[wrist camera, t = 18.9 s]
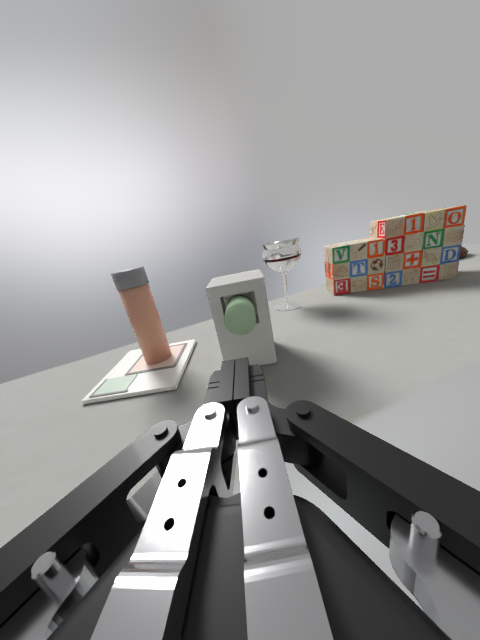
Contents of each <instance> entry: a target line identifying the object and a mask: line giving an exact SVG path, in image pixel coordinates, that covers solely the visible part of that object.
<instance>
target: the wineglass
mask: <svg viewBox="0 0 480 640" xmlns="http://www.w3.org/2000/svg"><path fill="white" fill-rule="evenodd" d="M298 241H299V238H296V239H295V238H294V239H288V240H282V241H277V242H272V243H268V244H264V245H262V247H263V249H264V252H263V261H264V262H265V264H266V265H267V266H268V267H269V268H270V269H272V270H275V271H278V272H279V273H280V274H282V278H283V284H284V290H285V296H286V302H285V303H282V304H279V305H277V306H276V307H275V309H276V310H280V311H288V310H293V309H296V308H299V307H300V306H301V304H300V303H298V302H288V291H287V279H286V273H288V270H289V269H291V268H292V267H294V266H295V265H296V263H297V262H298V260H299V259H300V255H301V250H300V247H299V246H298V244H297V243H298Z"/></svg>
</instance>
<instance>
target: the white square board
mask: <svg viewBox="0 0 480 640" xmlns="http://www.w3.org/2000/svg"><path fill="white" fill-rule="evenodd" d="M195 344H196V339H194V340H188V341H182V342H177V343H171V344H169V347H170V350H171V353H172V355H171V356H170V357H169V358H168V359H167V360H165V361H163V362H161V363H158V364H152V365H149V364H147V363H146V362H145V359H144V356H143V354H142V351H141V349H137V350H131V351H129V352H128V353H127V354H126V355H125V356H124V357H123V358H122V360H121V361H120V362H119V363H118V364H117V365H116V366H115V367H114V368H113V369H112V370H111V371H110V372H109V373H108V374H107V375H106V376H105V377H104V378H103V379H102V380H101V381H100V382H99V383H98V384H97V385H96V386H95V387H94V388H93V389H92V390H91V391H90V393H89V394H88V395H87V396H86V397H85V398H84V399H83V400H82V403H83V404H89V403H95V402H101V401H107V400H114V399H120V398H126V397H132V396H138V395H144V394H151V393H157V392H163V391H169V390H175V389H177V387H178V384H179V382H180V380H181V377H182V375H183V373H184V370H185V368H186V365H187V363H188V361H189V358H190V356H191V354H192V351H193V349H194V347H195Z"/></svg>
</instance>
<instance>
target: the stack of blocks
mask: <svg viewBox="0 0 480 640" xmlns="http://www.w3.org/2000/svg"><path fill="white" fill-rule="evenodd" d="M465 213H466V205H464V206H456V207H449V208H442V209H436V210H427V211H420V212H414V213H409V214H405V215H402V216H397V217H392V218H387V219H381V220H376V221H371V233H370V238H366V239H361V240H354V241H349V242H344V243H338V244H332V245H327V246H324V254H325V273H326V287H327V289H328V290H329V291H330V292H331V293H332V294H333V295H339V294H346V293H355V292H362V291H368V290H376V289H383V288H389V287H396V286H403V285H409V284H416V283H424V282H431V281H438V280H445V279H452V278H457V272H458V265H459V257H460V250H461V244H462V239H463V233H464V226H465V225H463V224H464V219H465Z"/></svg>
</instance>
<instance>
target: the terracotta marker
mask: <svg viewBox="0 0 480 640" xmlns="http://www.w3.org/2000/svg"><path fill="white" fill-rule="evenodd" d="M111 276H112V278H113V281H114V283H115V286H116V288H117V290H118V291H119V294H120V296H121V299H122V302H123V304H124V307H125V310H126V312H127V315H128V317H129V320H130V322H131V325H132V328H133V330H134V333H135V335H136V338H137V341H138V343H139V346H140V349H141V351H142V354H143V356H144V359H145V362H146V363H147V364H149V365H152V364H158V363H161V362H163V361H165V360H167V359H168V358H169V357H170V356H171V355H172V353H171V350H170V347H169V344H168V341H167V338H166V335H165V332H164V329H163V326H162V323H161V320H160V317H159V314H158V311H157V308H156V305H155V302H154V300H153V296H152V293H151V290H150V287H149V284H148V283H149V281H148V278H147V276H146V272H145V269H144V267H138V268H133V269H128V270H124V271H120V272H116V273H112V274H111Z"/></svg>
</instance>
